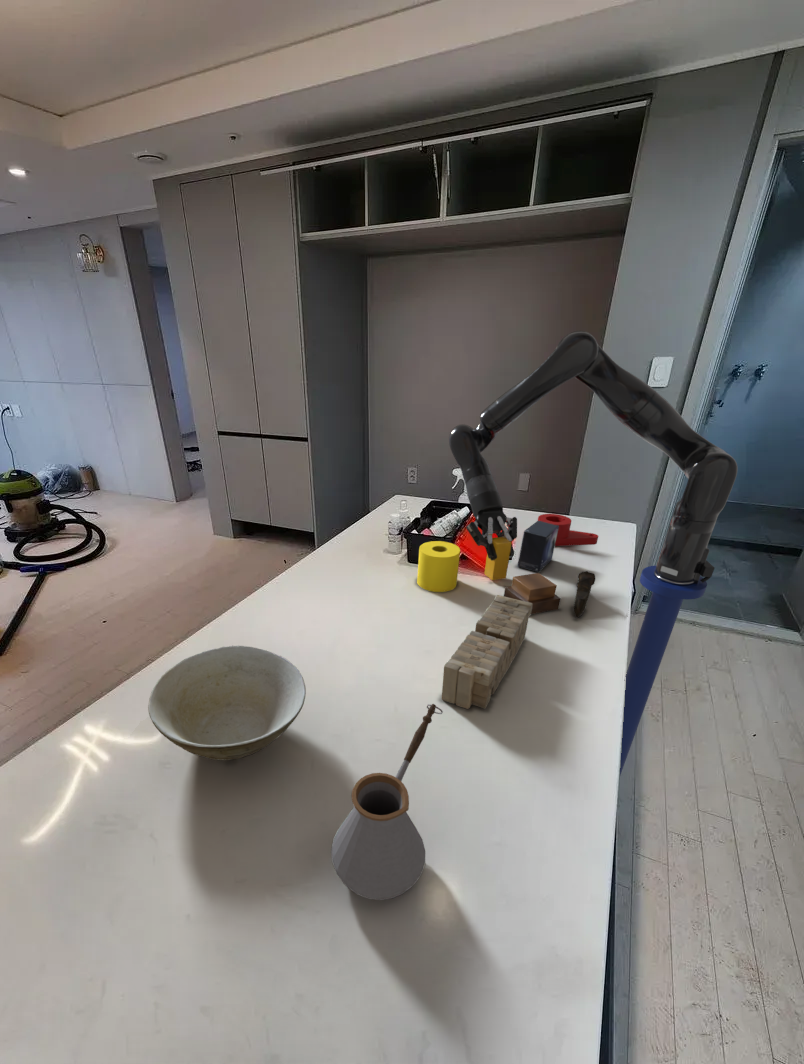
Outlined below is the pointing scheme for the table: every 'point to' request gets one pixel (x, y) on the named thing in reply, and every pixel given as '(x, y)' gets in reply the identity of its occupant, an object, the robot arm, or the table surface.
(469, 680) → the block tower
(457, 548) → the yellow toilet paper roll
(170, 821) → the table surface
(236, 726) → the bowl
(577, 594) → the hand tool
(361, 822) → the coffee pot
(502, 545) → the bar
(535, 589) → the brown stepped wooden block
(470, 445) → the robot arm
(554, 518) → the lever
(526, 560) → the small box
